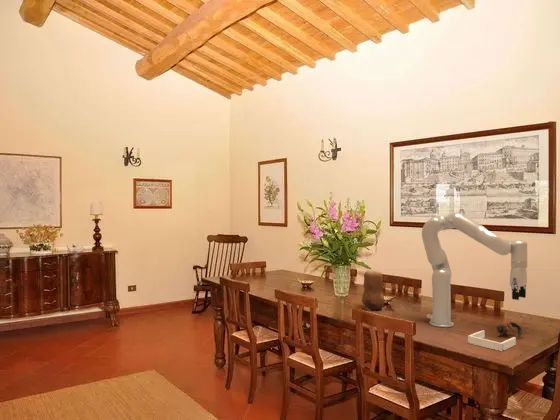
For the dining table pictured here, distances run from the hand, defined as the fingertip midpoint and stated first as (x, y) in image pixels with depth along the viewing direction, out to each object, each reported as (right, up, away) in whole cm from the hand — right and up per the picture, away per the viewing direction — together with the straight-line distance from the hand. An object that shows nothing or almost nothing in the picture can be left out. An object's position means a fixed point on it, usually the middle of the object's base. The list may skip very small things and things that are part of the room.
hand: (518, 298), depth 232 cm
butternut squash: (-65, -18, +52) cm, 85 cm away
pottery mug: (-9, -18, -7) cm, 21 cm away
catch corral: (-22, -18, -18) cm, 34 cm away
